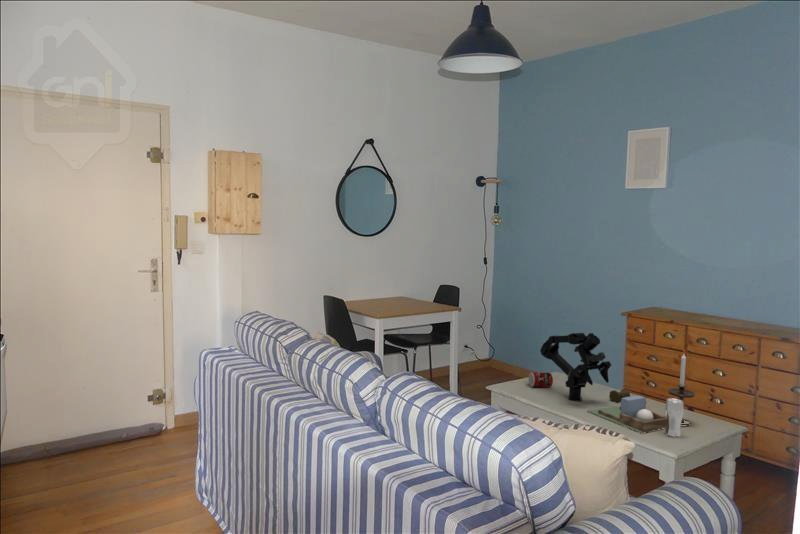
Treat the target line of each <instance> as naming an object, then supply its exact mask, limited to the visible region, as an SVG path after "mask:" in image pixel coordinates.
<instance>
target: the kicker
mask: <svg viewBox="0 0 800 534" xmlns="http://www.w3.org/2000/svg"><path fill="white" fill-rule="evenodd" d="M620 400H621V401H620V407H621V413H623V414H626V415H628V416H631V417H634V418H636V419H637V417H636V415H637V413H638V411H639V410H641V409H646V405H645V402H646V403H647V400H646V397H644V396H642V395H632V396H631V395H630V397H625V398H621V399H620Z"/></svg>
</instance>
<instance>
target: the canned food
mask: <svg viewBox="0 0 800 534" xmlns="http://www.w3.org/2000/svg"><path fill="white" fill-rule="evenodd" d="M553 383H554V378H553V375H552V373H550V372H529V375H528V384H529V387H531V388H548V387H549V388H550V387H552V386H553Z"/></svg>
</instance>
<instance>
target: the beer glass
mask: <svg viewBox="0 0 800 534" xmlns="http://www.w3.org/2000/svg"><path fill="white" fill-rule="evenodd" d="M665 402H666V403H665V409H664V410H665V411H664V412H665V413H664V414H665V417H666V423H667V426H666V429H665V432H664V434H665V433H666V434H667V435H670V436H680V435H682V434H681V426H680V425H681V421H682V419H684V418H683V417H684V410H685V406H684V400H683V401H682V400H679V399H678V398H674V397H673V398H671V397H670V398H669V397H668V398H667V399H666V400H665ZM666 434H665V435H666ZM667 435H666V436H667ZM670 436H669V437H670ZM680 437H681V436H680Z"/></svg>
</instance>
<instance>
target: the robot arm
mask: <svg viewBox="0 0 800 534" xmlns="http://www.w3.org/2000/svg"><path fill="white" fill-rule="evenodd" d="M561 343H564V344H565V343H568V344H571V345H576V346H575V348H574V349H573V350H574V351H573V352H575V353H578V355H579V357H580V363H581V364H578V365H576V367H573V366H572V365H571V364H570V363H569V362H568V361H567V360H566V359H565V358H564V357H563V356H561V354H559V351H560V350H559V349H560V344H561ZM600 344H601V339H600V338H599V337H598V336H597V335H595V334H594V332H591V333H588V335H586V334H585V332H574V333H573V332H572V333H570V334H568V335H567V334H566V335H558V334H557V335H556V334H555V335H550V336H549V337H548V339H547V340H546V341H545V342H544V343H542V345H541V348H540V354H541V356H542V357H544V358H546V359H548V360H551V361H552V363H554V364H555V365H556V366H557V367H558V368H559V369H560V370H561V371H562V372H563V373H564V374H565V375H566V376H567V380H566V381H565V387H567V388H569V389H568V390H569V393H568V394H569V395H568V396H567V397H568V398H567V400H570V401H578V402H582V397H583V396H582V388H586V385H587V383H588V384H589V385H591V386H593V385H594V383H593V380H592V377H591V376H590V374H589V371H594V370H598V371H599V374H600V376H601V377H602V379H603V380H604V381H605V383H608V384H609V369H610V368H611V367H612V363H611V362H610V360H605V359H606V355H605V352H598V354H595V353H592V351H593V350H595V349H596V348H597V347H598V346H599V345H600ZM604 360H605V361H604ZM601 361H602V362H601ZM582 363H583V364H582Z"/></svg>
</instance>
